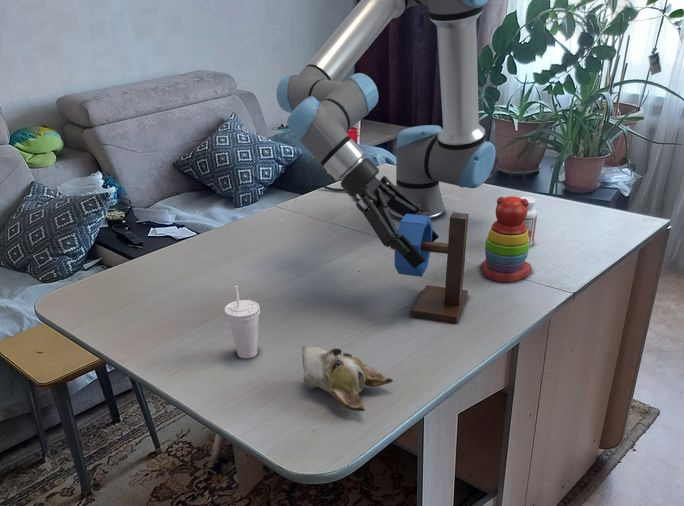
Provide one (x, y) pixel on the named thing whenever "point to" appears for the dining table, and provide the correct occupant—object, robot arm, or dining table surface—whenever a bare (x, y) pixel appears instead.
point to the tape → (414, 242)
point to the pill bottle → (530, 218)
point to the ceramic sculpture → (339, 375)
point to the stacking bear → (508, 242)
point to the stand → (451, 297)
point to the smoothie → (243, 325)
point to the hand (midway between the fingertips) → (427, 252)
